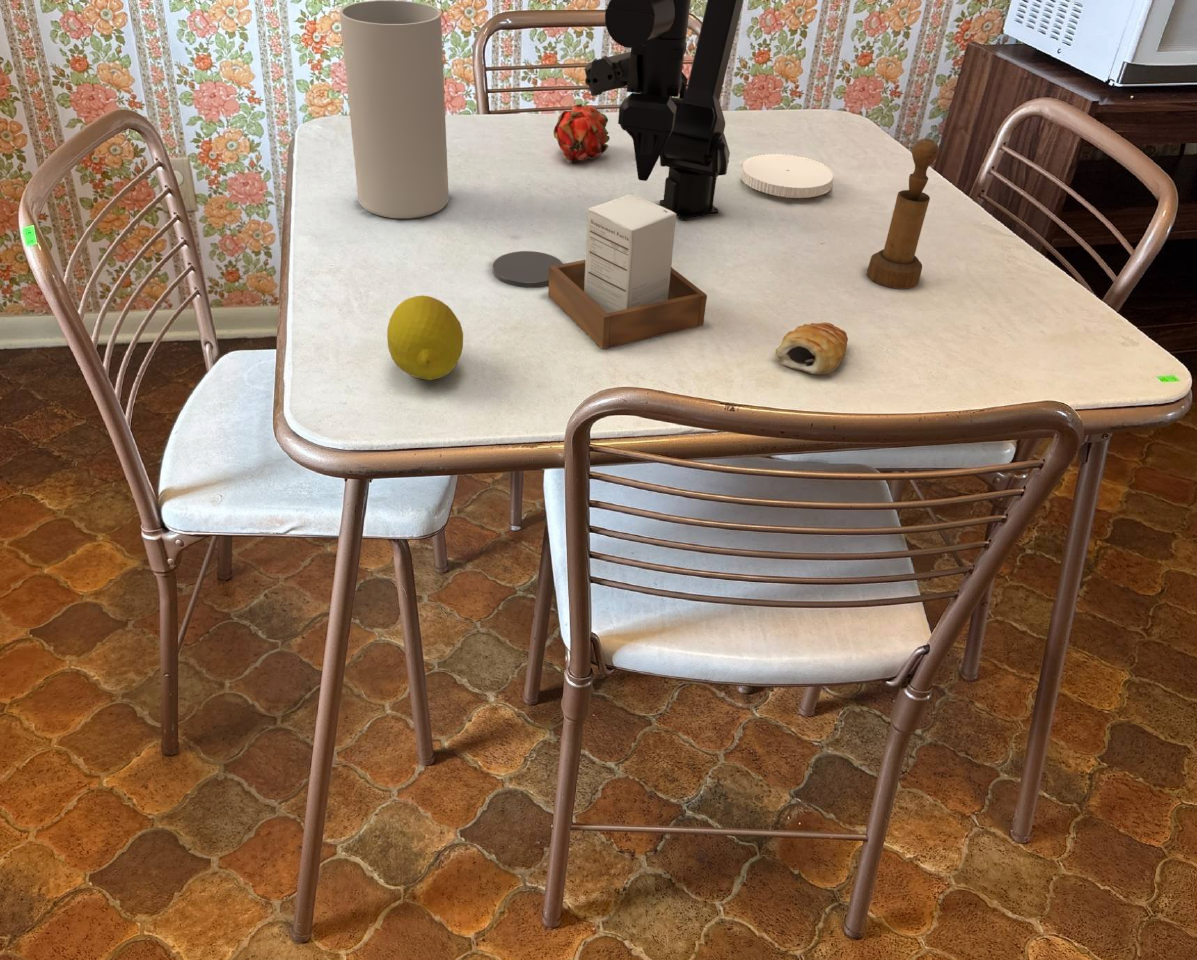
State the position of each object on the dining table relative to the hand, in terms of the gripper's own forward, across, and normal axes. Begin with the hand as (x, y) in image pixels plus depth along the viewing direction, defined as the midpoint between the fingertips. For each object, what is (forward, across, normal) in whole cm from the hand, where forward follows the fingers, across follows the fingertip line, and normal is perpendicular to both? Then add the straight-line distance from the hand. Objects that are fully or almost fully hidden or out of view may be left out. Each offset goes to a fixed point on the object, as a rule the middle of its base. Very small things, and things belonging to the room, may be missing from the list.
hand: (647, 169), depth 123 cm
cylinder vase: (+12, -8, -34) cm, 37 cm away
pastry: (+13, +20, +23) cm, 33 cm away
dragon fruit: (+10, -34, -14) cm, 38 cm away
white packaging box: (+13, +15, 0) cm, 20 cm away
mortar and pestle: (+11, -3, +33) cm, 35 cm away
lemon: (+14, +33, -18) cm, 40 cm away
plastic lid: (+10, -31, +19) cm, 38 cm away
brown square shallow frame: (+12, +15, 0) cm, 20 cm away
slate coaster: (+12, +8, -13) cm, 19 cm away
